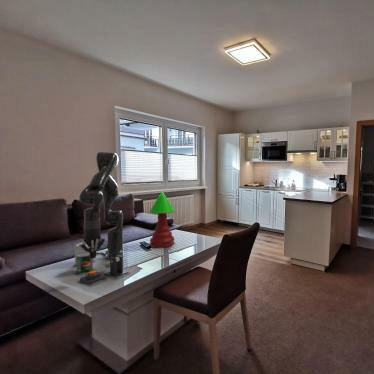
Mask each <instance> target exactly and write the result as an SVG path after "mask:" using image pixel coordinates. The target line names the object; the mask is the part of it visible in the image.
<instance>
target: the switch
mask: <svg viewBox="0 0 374 374" xmlns="http://www.w3.org/2000/svg"><path fill="white" fill-rule="evenodd" d="M118 261H120V259H119V257H116V262H118ZM104 268H106V269H108V268H109V269H110V261H109V262H105V263H104Z"/></svg>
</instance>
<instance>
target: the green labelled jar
mask: <svg viewBox="0 0 374 374" xmlns="http://www.w3.org/2000/svg"><path fill="white" fill-rule="evenodd" d="M82 243H83V242H80V243H77V244H74V266H77V262H76V255H77V254H80V253H84V252H86V251H85V250H84V249H82V248H81V247H80V246H79V245H80V244H82ZM86 247H87V248H88V245H87V244H86ZM94 259H95V258H93V259H92V263H94V261H95V260H94Z"/></svg>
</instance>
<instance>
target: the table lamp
mask: <svg viewBox="0 0 374 374" xmlns="http://www.w3.org/2000/svg"><path fill="white" fill-rule="evenodd" d="M149 213H150V214H157V222H156V226H155V228H154V232H153V233H152V234H151V235H152V237H151V238H150V239H149V242H150V243H149V247H151V248H157V249H159V248H168V247H172V246H173V245H175V243H176V242H175V237H174V236H173V232H172V231H171V230H170V226H169V225H168V220H167V219H168V215H167V214H172V213H175V209H174V207H173V206H172V204H171V202H170V200H169V199H168V197H167V196H166V195H165V193H164V192H163V191H161V193H160V194H159V196H158V197H157V198H156V200H155V201H154V204H153V205H152V206H151V208H150V210H149Z"/></svg>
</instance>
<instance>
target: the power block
mask: <svg viewBox="0 0 374 374" xmlns="http://www.w3.org/2000/svg"><path fill="white" fill-rule="evenodd" d="M96 271H97V270H96ZM106 279H107V275H105V274H101V272H100V271H97V274H96V275H92V276H89V272H87V273H85V275H84V276H82V277H79V281H80V282H83V283H86V284H88V285H93V284H97V283H98V282H99V283H100V282H101V281H103V280H106Z"/></svg>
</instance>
